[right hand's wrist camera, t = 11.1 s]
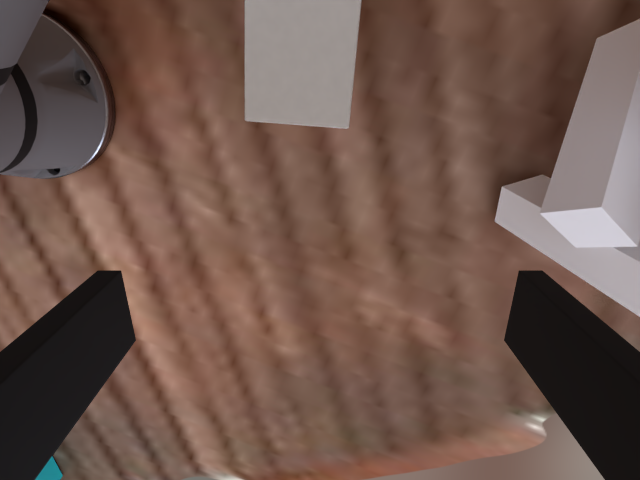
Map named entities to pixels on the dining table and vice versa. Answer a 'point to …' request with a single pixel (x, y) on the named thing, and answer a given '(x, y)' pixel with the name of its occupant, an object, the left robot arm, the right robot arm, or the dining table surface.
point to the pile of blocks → (592, 179)
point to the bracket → (50, 471)
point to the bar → (300, 61)
